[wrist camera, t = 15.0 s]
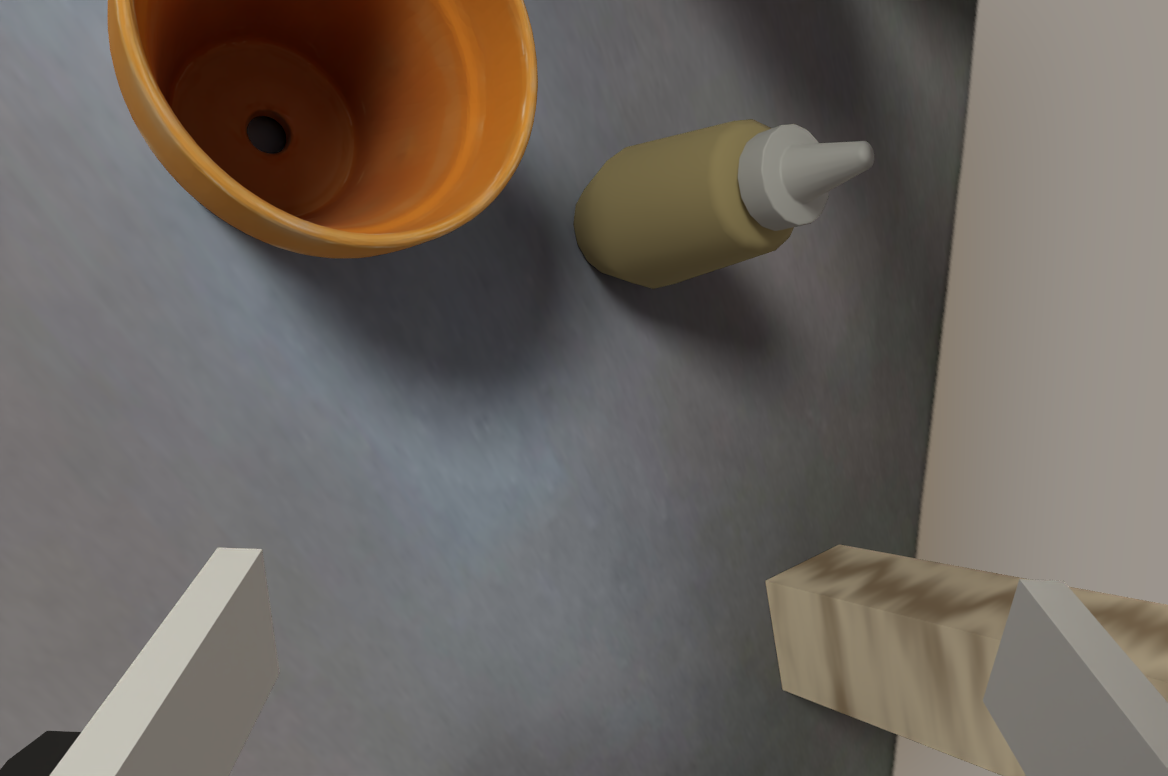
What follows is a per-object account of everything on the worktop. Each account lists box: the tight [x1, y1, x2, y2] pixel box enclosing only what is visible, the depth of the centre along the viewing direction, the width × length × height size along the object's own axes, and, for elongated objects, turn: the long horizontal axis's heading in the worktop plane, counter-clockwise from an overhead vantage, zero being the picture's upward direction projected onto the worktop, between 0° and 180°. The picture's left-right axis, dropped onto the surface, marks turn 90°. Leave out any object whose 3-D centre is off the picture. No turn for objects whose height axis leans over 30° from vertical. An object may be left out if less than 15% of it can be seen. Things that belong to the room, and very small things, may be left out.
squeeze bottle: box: [574, 119, 874, 289], centre depth 42 cm, size 8×8×18 cm
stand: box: [765, 545, 1168, 776], centre depth 46 cm, size 10×10×32 cm
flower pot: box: [108, 0, 538, 258], centre depth 33 cm, size 14×14×13 cm
